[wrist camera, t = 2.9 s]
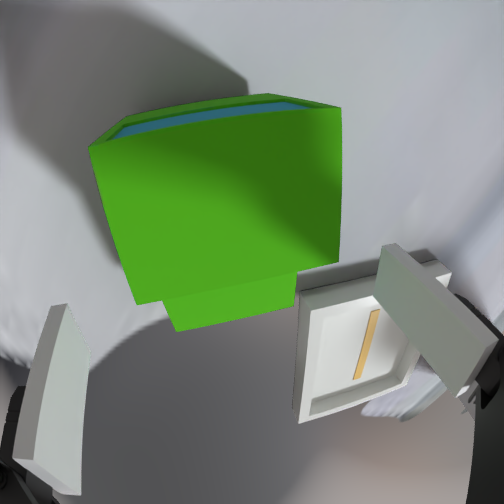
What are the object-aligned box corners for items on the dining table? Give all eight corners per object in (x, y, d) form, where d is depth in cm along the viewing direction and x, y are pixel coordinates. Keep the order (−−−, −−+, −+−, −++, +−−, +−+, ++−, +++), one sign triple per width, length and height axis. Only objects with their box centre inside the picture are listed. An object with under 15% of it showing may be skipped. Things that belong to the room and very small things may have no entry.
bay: (299, 291, 26) (310, 310, 24) (437, 259, 29) (452, 272, 27) (291, 407, 36) (298, 423, 34) (397, 372, 39) (406, 385, 37)
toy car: (158, 296, 24) (163, 408, 15) (112, 118, 17) (58, 156, 8) (289, 268, 25) (344, 364, 17) (278, 91, 18) (367, 107, 10)
